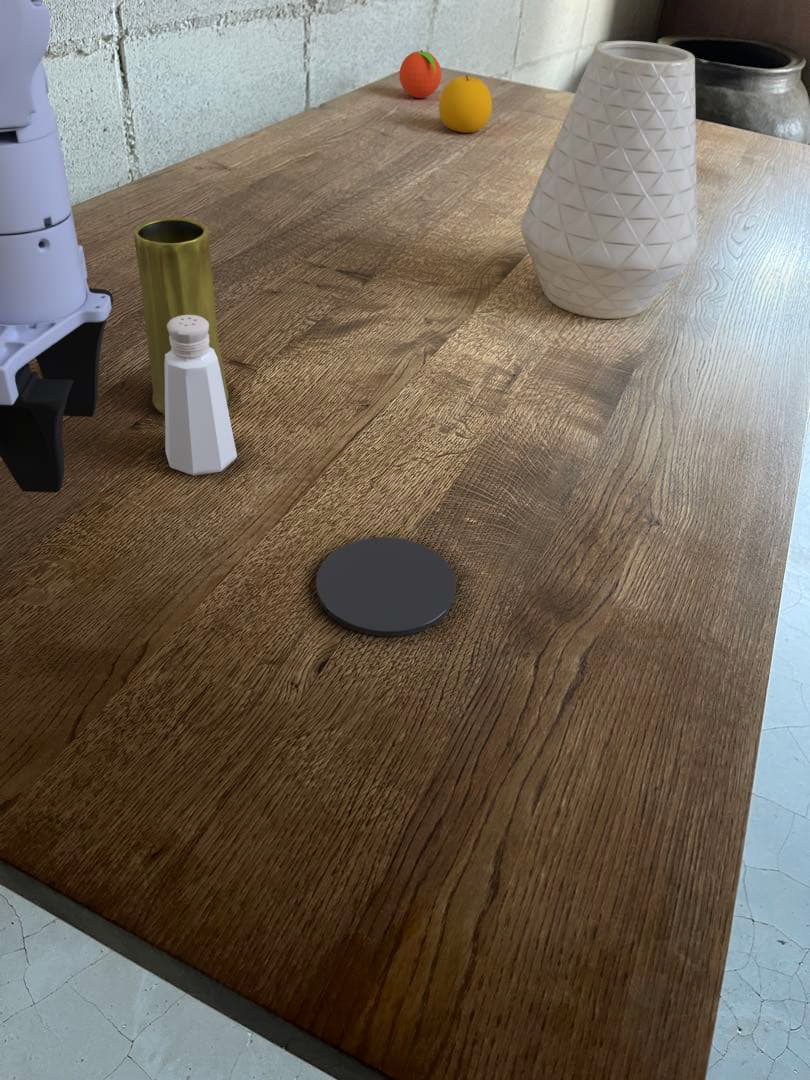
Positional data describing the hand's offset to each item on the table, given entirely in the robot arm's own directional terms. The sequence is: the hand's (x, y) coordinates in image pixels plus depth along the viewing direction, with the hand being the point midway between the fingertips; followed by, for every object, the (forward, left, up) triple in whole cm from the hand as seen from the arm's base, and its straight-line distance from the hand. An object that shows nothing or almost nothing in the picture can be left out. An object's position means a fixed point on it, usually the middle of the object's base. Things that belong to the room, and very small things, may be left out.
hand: (60, 448), depth 53 cm
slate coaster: (+19, -1, -9) cm, 21 cm away
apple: (+31, +103, -10) cm, 108 cm away
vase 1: (+3, +21, -10) cm, 24 cm away
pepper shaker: (+5, +13, -10) cm, 17 cm away
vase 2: (+41, +45, -10) cm, 62 cm away
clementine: (+25, +120, -10) cm, 123 cm away
